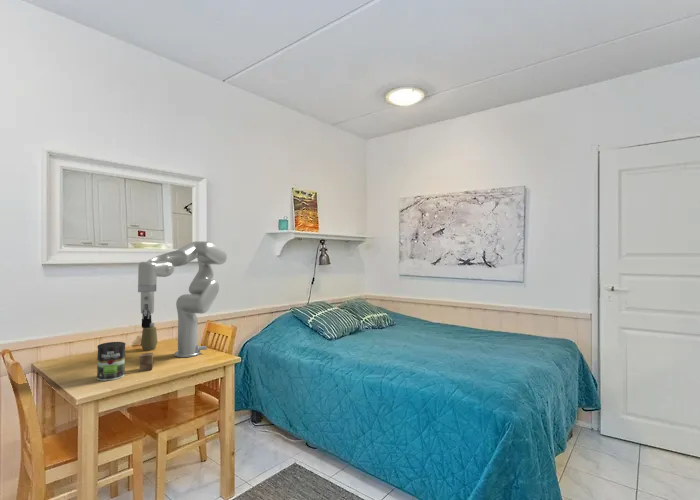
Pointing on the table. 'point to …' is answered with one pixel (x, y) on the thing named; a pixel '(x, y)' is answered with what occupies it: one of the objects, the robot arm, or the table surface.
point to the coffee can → (111, 361)
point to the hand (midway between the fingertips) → (146, 325)
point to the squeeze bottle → (149, 337)
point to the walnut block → (146, 361)
